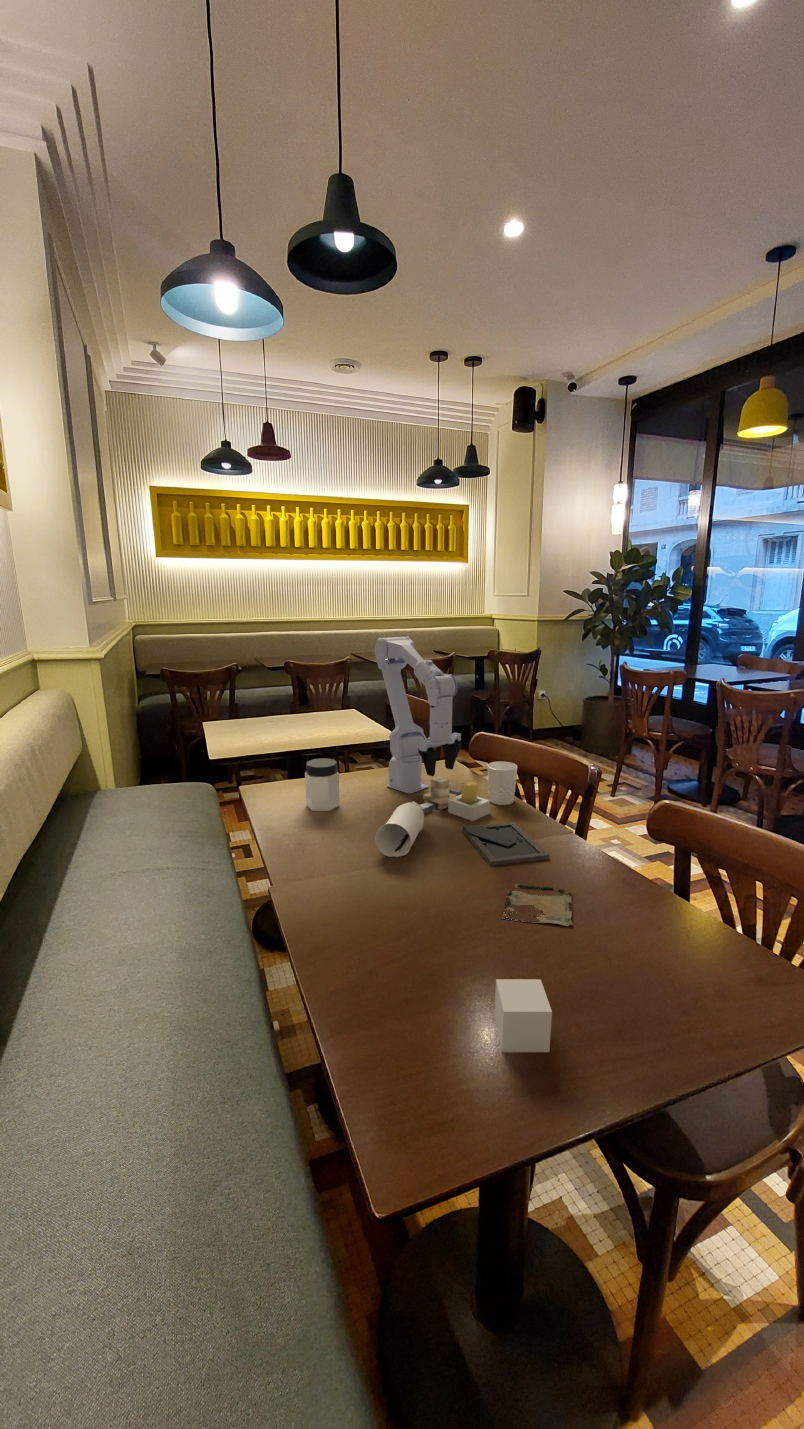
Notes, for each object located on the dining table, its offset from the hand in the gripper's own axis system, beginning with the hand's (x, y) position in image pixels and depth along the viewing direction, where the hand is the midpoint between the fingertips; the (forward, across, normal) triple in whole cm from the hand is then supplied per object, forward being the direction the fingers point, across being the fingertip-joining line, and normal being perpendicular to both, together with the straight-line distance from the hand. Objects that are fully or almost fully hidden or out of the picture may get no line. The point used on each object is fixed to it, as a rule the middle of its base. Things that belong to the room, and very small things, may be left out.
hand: (440, 771), depth 152 cm
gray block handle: (+9, -3, 0) cm, 10 cm away
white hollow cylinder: (+10, -23, -8) cm, 26 cm away
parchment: (+10, -25, -45) cm, 52 cm away
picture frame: (+10, -8, -26) cm, 29 cm away
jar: (+10, -22, +22) cm, 32 cm away
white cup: (+9, +14, -10) cm, 20 cm away
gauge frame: (+9, +1, -9) cm, 13 cm away
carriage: (+9, 0, 0) cm, 9 cm away
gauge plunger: (+5, +1, -9) cm, 11 cm away
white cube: (+9, -54, -60) cm, 81 cm away
